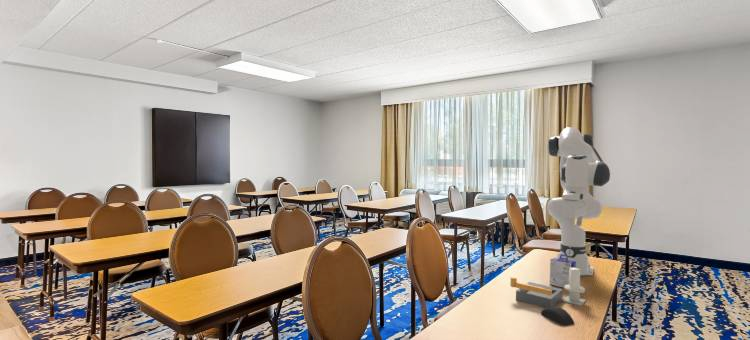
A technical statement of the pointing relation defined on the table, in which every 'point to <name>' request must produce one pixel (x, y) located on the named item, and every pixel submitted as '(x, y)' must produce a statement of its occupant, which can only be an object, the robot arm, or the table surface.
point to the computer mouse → (558, 315)
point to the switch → (540, 296)
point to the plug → (574, 285)
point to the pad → (573, 301)
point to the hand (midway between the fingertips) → (575, 227)
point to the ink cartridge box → (560, 270)
